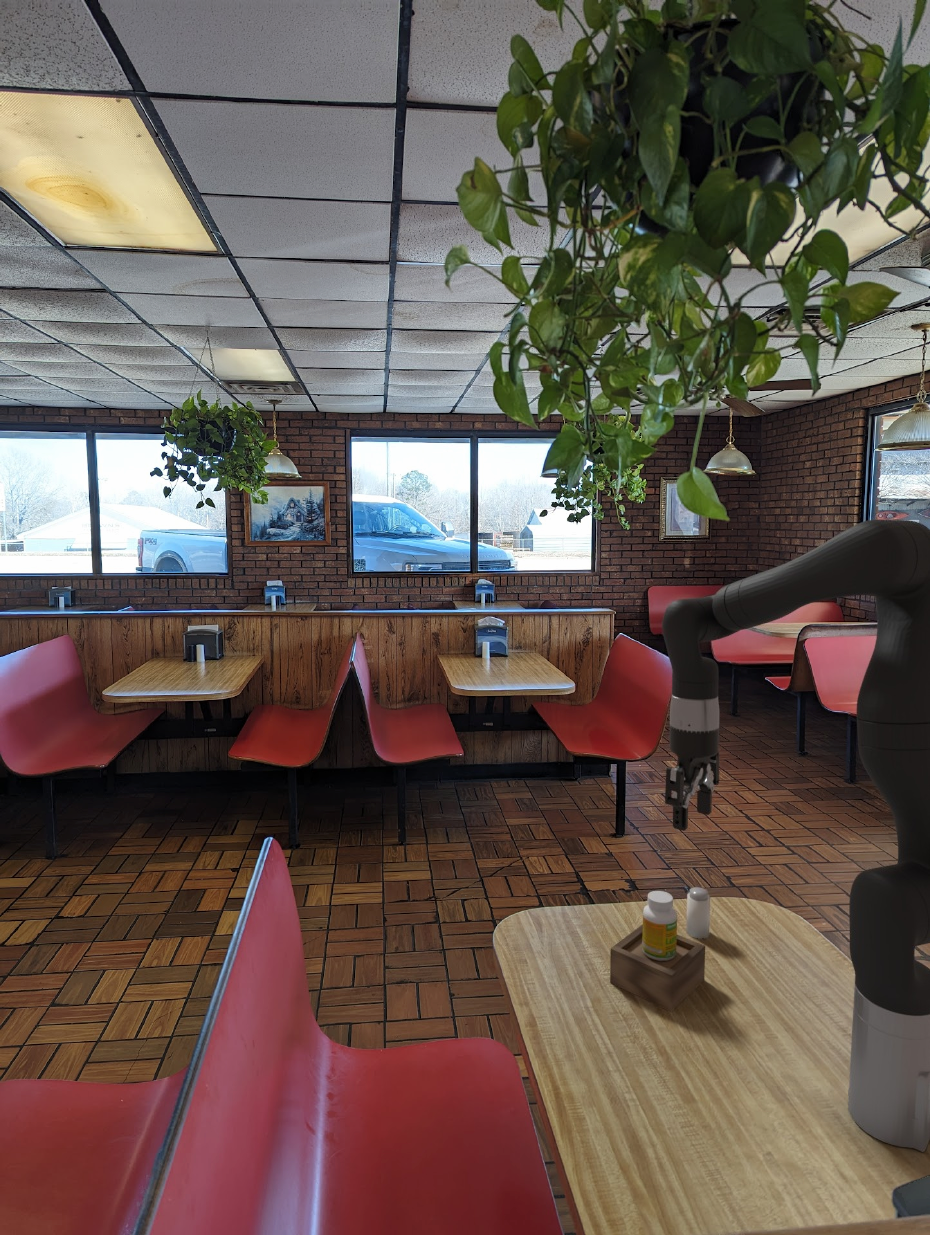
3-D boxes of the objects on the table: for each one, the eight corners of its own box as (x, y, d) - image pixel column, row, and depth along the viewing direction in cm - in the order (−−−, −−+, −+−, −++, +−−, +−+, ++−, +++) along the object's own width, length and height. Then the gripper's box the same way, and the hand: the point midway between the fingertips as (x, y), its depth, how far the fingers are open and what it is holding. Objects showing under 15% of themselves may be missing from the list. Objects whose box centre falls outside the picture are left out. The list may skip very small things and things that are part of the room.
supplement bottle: (669, 966, 121) (670, 908, 119) (636, 955, 124) (638, 898, 122) (680, 950, 125) (682, 894, 124) (649, 940, 128) (650, 885, 127)
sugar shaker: (713, 932, 139) (714, 891, 138) (702, 941, 136) (704, 899, 135) (692, 924, 142) (693, 884, 141) (682, 933, 139) (683, 892, 138)
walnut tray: (704, 979, 125) (705, 945, 124) (671, 1011, 117) (671, 975, 116) (645, 954, 133) (645, 922, 132) (610, 982, 125) (610, 948, 124)
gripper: (696, 737, 113) (694, 841, 115) (735, 717, 124) (733, 813, 126) (650, 728, 118) (649, 828, 120) (692, 710, 129) (690, 803, 131)
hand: (692, 821), depth 123 cm, fingers open, 8 cm apart
